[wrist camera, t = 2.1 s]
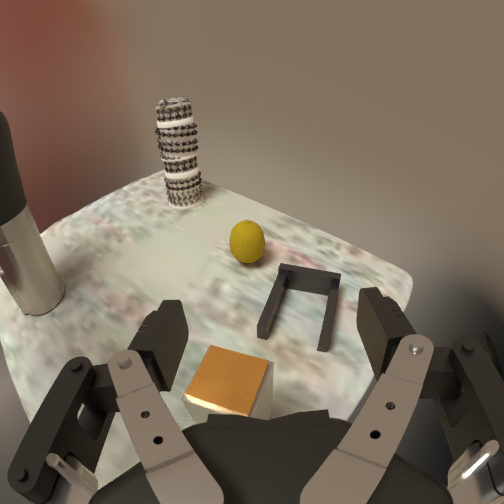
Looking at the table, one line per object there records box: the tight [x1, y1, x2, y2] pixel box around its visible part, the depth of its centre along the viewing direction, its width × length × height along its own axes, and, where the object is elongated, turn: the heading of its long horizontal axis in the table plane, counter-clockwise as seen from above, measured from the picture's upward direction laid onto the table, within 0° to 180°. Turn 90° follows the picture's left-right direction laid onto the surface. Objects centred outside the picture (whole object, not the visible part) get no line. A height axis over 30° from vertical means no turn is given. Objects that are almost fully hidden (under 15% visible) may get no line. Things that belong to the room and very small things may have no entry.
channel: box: [257, 263, 341, 352], centre depth 38 cm, size 11×9×4 cm
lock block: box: [181, 345, 274, 424], centre depth 22 cm, size 5×5×13 cm
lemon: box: [230, 220, 265, 263], centre depth 46 cm, size 6×6×8 cm
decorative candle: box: [155, 97, 204, 210], centre depth 60 cm, size 9×9×25 cm
